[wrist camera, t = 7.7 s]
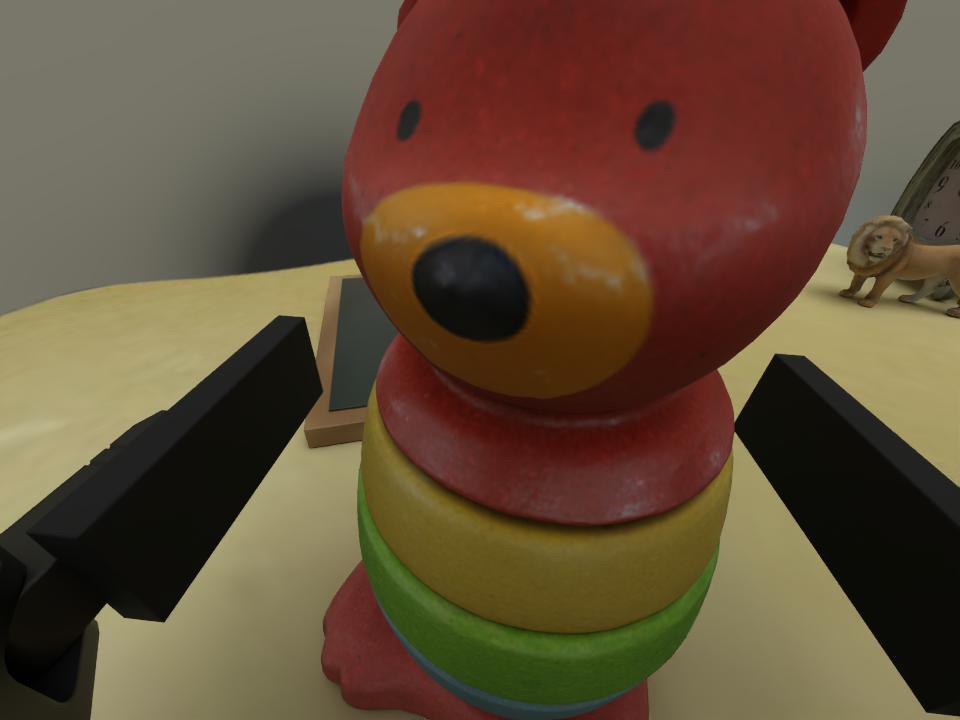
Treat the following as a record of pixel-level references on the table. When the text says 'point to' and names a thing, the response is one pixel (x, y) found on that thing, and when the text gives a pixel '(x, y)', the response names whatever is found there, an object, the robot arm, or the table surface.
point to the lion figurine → (899, 261)
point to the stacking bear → (573, 327)
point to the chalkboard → (347, 361)
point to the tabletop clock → (935, 199)
